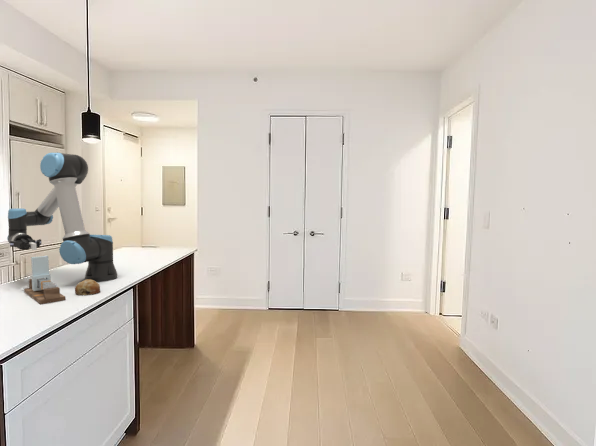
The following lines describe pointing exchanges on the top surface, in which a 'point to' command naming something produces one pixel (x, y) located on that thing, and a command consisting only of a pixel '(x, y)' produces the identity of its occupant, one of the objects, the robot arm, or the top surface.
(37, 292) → the base board
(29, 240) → the robot arm
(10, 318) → the top surface
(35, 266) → the slotted grey-blue plate
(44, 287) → the grey square bar
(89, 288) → the bread roll
